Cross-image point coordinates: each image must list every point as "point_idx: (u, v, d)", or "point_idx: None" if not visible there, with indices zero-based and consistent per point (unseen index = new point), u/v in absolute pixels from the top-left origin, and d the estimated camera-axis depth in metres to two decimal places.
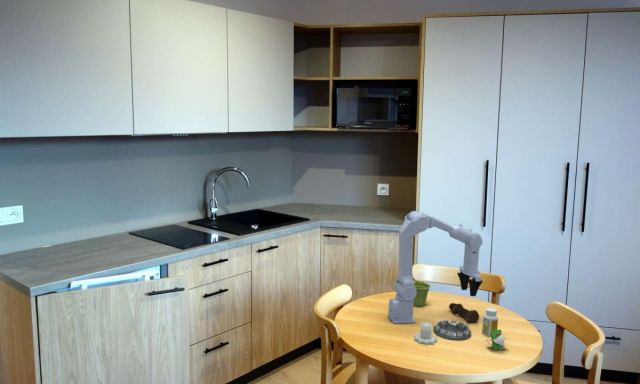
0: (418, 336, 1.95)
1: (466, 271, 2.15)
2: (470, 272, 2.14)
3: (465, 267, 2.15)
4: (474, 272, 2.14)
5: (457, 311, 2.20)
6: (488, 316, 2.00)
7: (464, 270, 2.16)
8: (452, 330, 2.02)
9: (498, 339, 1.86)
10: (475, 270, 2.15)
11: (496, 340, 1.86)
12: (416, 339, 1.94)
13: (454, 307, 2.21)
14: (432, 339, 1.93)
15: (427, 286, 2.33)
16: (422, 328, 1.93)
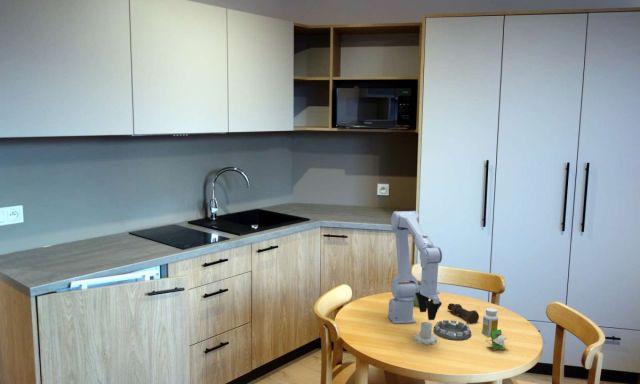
0: (418, 336, 1.95)
1: (423, 292, 1.90)
2: (428, 293, 1.90)
3: (422, 287, 1.91)
4: (432, 293, 1.90)
5: (456, 311, 2.20)
6: (488, 316, 2.00)
7: (421, 290, 1.91)
8: (452, 330, 2.02)
9: (498, 339, 1.86)
10: (434, 290, 1.90)
11: (496, 340, 1.86)
12: (416, 339, 1.94)
13: (453, 307, 2.21)
14: (432, 339, 1.93)
15: None
16: (422, 328, 1.93)
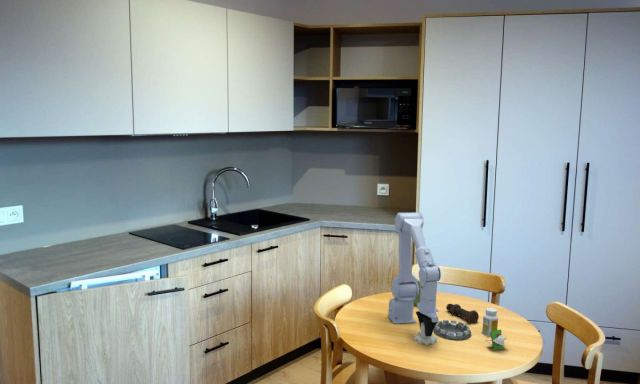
0: (418, 336, 1.95)
1: (422, 310, 1.91)
2: (427, 311, 1.91)
3: (421, 305, 1.92)
4: (431, 311, 1.91)
5: (455, 312, 2.19)
6: (488, 316, 2.00)
7: (420, 308, 1.92)
8: (452, 330, 2.02)
9: (498, 339, 1.86)
10: (432, 309, 1.91)
11: (496, 340, 1.86)
12: (416, 339, 1.94)
13: (452, 308, 2.20)
14: (432, 339, 1.93)
15: None
16: (422, 328, 1.93)
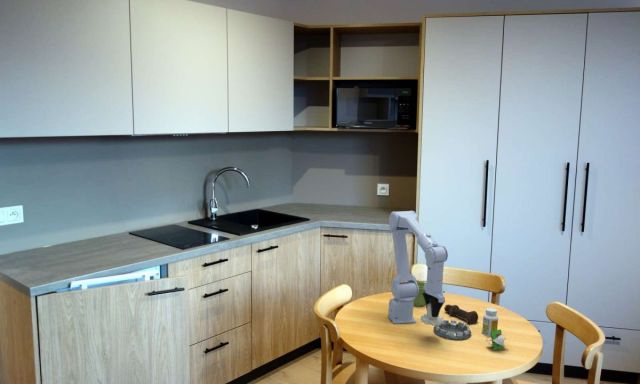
0: (424, 317, 1.96)
1: (429, 290, 1.92)
2: (433, 292, 1.91)
3: (428, 286, 1.92)
4: (438, 292, 1.91)
5: (454, 313, 2.18)
6: (488, 316, 2.00)
7: (427, 289, 1.93)
8: (452, 330, 2.02)
9: (498, 339, 1.86)
10: (439, 289, 1.91)
11: (496, 340, 1.86)
12: (422, 320, 1.94)
13: (451, 309, 2.19)
14: (438, 320, 1.94)
15: None
16: (429, 309, 1.94)
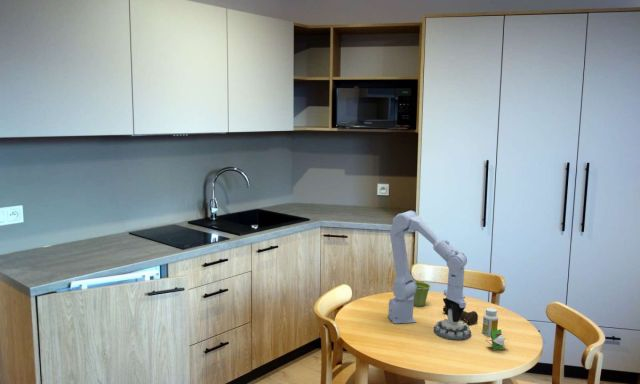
0: (445, 322, 2.02)
1: (450, 296, 1.99)
2: (454, 297, 1.98)
3: (449, 292, 1.99)
4: (459, 297, 1.98)
5: None
6: (488, 316, 2.00)
7: (448, 295, 2.00)
8: (452, 330, 2.02)
9: (498, 339, 1.86)
10: (460, 295, 1.98)
11: (496, 340, 1.86)
12: (444, 325, 2.01)
13: None
14: (459, 325, 2.00)
15: (427, 286, 2.33)
16: (450, 314, 2.00)
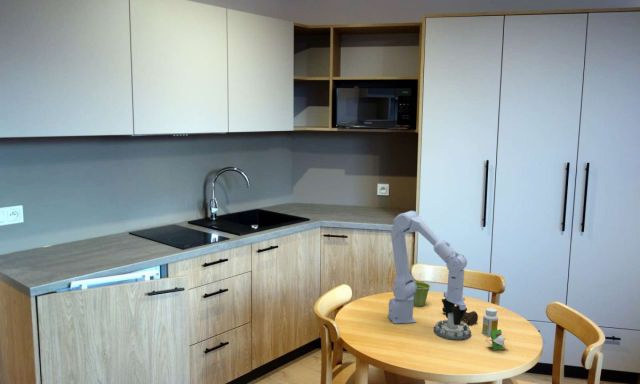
0: (445, 326, 2.03)
1: (450, 298, 1.99)
2: (454, 299, 1.98)
3: (449, 294, 1.99)
4: (459, 299, 1.98)
5: None
6: (488, 316, 2.00)
7: (448, 297, 2.00)
8: None
9: (498, 339, 1.86)
10: (460, 297, 1.98)
11: (496, 340, 1.86)
12: (443, 329, 2.01)
13: None
14: (459, 329, 2.00)
15: (427, 286, 2.33)
16: (449, 318, 2.01)
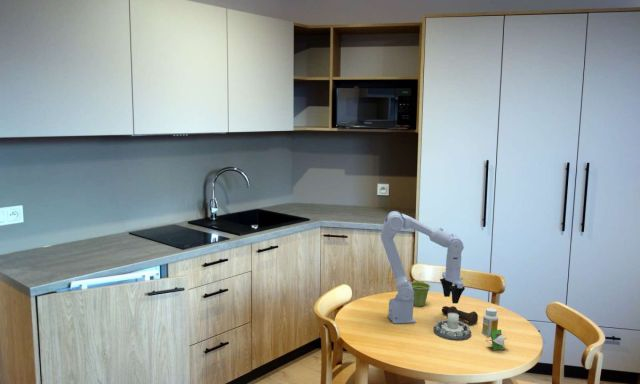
0: (445, 326, 2.03)
1: (448, 277, 2.08)
2: (452, 278, 2.07)
3: (447, 273, 2.08)
4: (456, 278, 2.07)
5: None
6: (488, 316, 2.00)
7: (446, 276, 2.09)
8: None
9: (498, 339, 1.86)
10: (457, 276, 2.08)
11: (496, 340, 1.86)
12: (443, 329, 2.01)
13: (449, 310, 2.17)
14: (459, 329, 2.00)
15: (427, 286, 2.33)
16: (449, 318, 2.01)
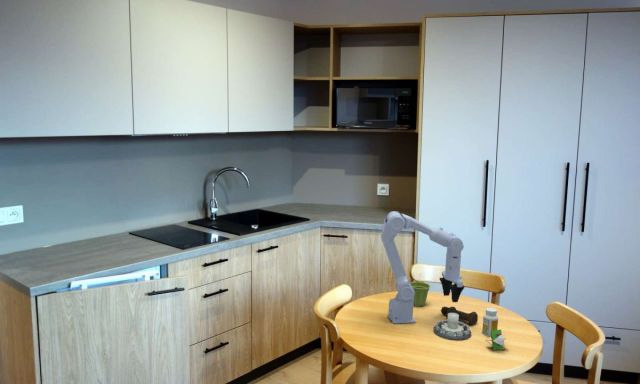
0: (445, 326, 2.03)
1: (448, 276, 2.09)
2: (452, 277, 2.09)
3: (447, 272, 2.10)
4: (456, 277, 2.09)
5: None
6: (488, 316, 2.00)
7: (446, 275, 2.10)
8: None
9: (498, 339, 1.86)
10: (457, 275, 2.09)
11: (496, 340, 1.86)
12: (443, 329, 2.01)
13: (449, 311, 2.17)
14: (459, 329, 2.00)
15: (427, 286, 2.33)
16: (449, 318, 2.01)
